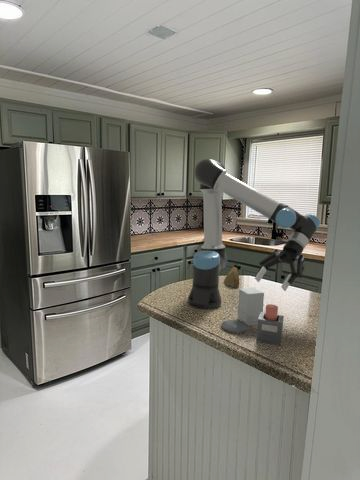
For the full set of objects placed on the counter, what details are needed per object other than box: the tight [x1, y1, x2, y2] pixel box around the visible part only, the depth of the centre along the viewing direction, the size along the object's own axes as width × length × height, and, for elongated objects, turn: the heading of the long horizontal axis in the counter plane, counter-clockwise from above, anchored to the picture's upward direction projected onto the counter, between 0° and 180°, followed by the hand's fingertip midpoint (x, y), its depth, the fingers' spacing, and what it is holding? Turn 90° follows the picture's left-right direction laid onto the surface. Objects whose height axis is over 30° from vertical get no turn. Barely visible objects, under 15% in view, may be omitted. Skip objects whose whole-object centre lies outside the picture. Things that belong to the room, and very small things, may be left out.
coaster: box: [221, 319, 250, 335], centre depth 121 cm, size 10×10×1 cm
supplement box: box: [236, 287, 265, 326], centre depth 127 cm, size 7×7×13 cm
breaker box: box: [256, 311, 285, 346], centre depth 112 cm, size 8×7×8 cm
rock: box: [223, 266, 240, 289], centre depth 174 cm, size 11×9×10 cm
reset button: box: [264, 303, 279, 321], centre depth 111 cm, size 4×4×7 cm
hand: (269, 284), depth 130 cm, fingers open, 13 cm apart
